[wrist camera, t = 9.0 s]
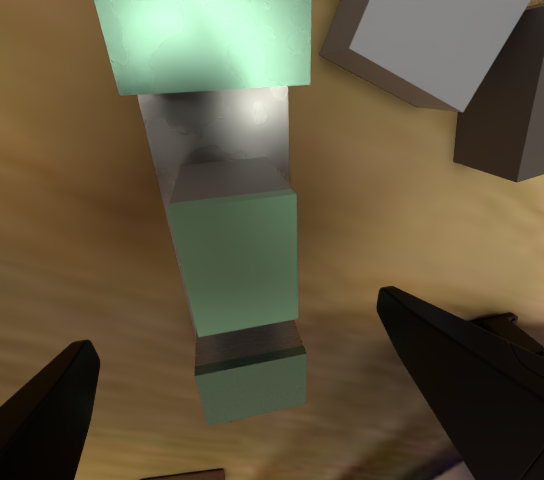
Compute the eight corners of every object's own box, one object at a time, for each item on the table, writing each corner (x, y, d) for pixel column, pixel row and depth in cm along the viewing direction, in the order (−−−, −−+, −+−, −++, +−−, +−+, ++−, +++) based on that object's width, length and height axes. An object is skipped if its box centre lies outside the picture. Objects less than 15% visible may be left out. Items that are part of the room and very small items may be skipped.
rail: (286, 325, 25) (313, 406, 19) (201, 341, 24) (200, 432, 18) (274, -41, 14) (332, -139, 7) (114, -42, 13) (26, -159, 6)
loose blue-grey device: (414, 106, 18) (462, 112, 15) (318, 55, 16) (349, 48, 13) (463, 14, 16) (532, -3, 13) (362, -59, 14) (413, -104, 11)
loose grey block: (528, 138, 21) (612, 153, 17) (451, 161, 21) (516, 182, 16) (559, -2, 17) (679, -29, 13) (464, 23, 17) (554, 3, 12)
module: (272, 252, 19) (298, 318, 13) (200, 263, 18) (198, 337, 13) (266, 156, 16) (296, 193, 11) (180, 165, 15) (167, 209, 10)
